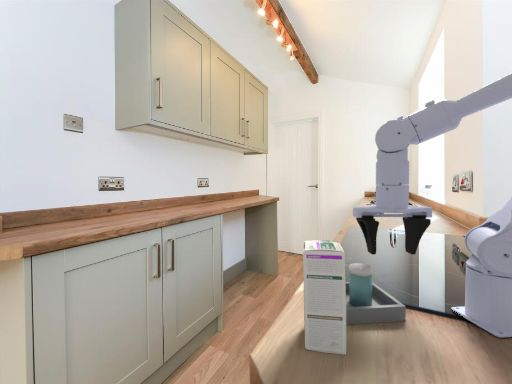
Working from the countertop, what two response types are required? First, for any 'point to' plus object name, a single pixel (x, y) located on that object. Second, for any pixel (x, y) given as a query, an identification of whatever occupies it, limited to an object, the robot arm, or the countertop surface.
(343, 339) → the syrup box
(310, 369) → the countertop surface
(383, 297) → the tray
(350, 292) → the shaker
